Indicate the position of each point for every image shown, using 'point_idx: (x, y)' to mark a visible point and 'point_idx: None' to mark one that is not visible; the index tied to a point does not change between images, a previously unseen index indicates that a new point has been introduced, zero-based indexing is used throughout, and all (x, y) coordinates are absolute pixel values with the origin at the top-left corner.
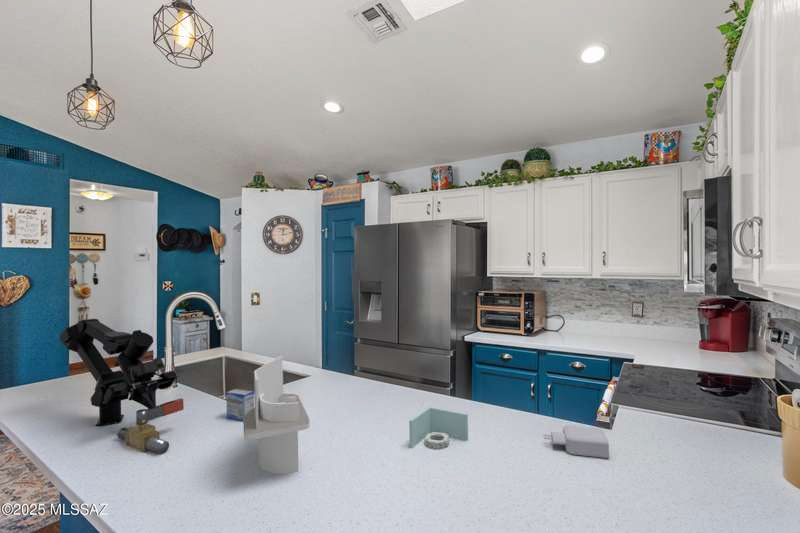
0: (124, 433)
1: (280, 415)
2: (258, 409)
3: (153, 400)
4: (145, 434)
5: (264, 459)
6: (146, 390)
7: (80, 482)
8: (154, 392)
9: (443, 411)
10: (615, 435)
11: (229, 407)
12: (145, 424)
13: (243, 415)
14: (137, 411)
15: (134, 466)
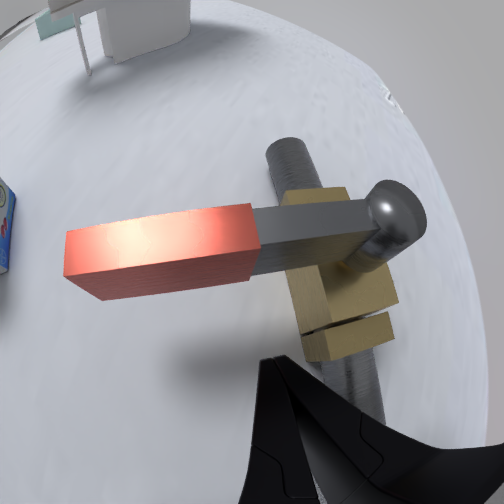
0: (377, 375)
1: None
2: None
3: (280, 409)
4: None
5: (189, 18)
6: (394, 493)
7: (437, 189)
8: (261, 494)
9: (46, 12)
10: None
11: None
12: (332, 276)
13: (5, 188)
14: (421, 218)
15: (355, 160)
